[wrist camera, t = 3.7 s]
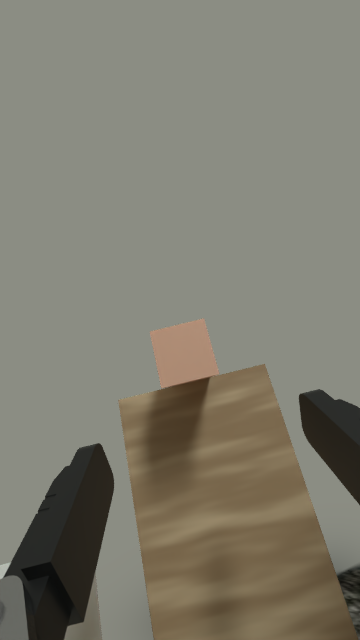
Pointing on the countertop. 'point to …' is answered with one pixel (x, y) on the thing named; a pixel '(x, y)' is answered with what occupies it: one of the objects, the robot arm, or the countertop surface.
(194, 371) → the terracotta bar
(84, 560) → the robot arm
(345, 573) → the countertop surface
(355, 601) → the countertop surface
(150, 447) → the oak stand
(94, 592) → the grey block
